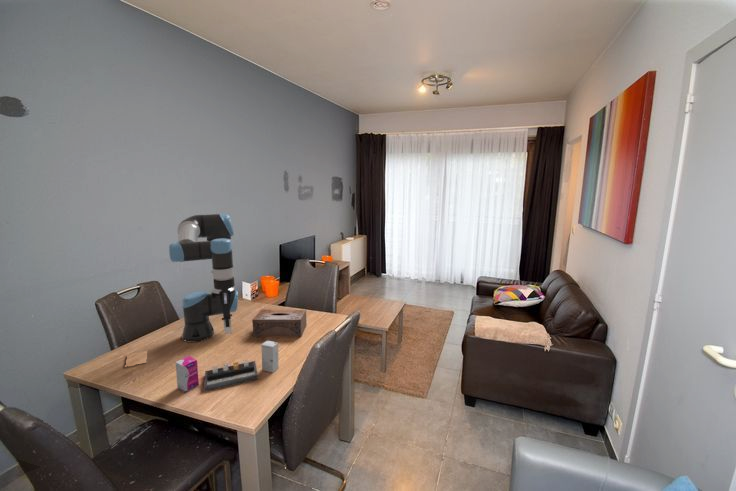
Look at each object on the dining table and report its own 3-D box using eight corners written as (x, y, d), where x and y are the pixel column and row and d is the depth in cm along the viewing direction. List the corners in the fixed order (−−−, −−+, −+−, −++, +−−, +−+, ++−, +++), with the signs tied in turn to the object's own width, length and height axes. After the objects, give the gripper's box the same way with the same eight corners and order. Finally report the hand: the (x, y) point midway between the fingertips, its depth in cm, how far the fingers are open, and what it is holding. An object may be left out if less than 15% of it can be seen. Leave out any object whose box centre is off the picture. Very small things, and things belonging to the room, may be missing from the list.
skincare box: (261, 370, 142) (260, 344, 140) (268, 365, 146) (266, 340, 144) (273, 373, 140) (272, 347, 138) (279, 367, 144) (278, 342, 142)
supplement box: (185, 393, 126) (182, 366, 124) (177, 388, 129) (174, 361, 127) (199, 385, 131) (197, 359, 129) (191, 380, 134) (188, 355, 132)
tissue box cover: (253, 337, 174) (252, 319, 172) (262, 325, 188) (261, 309, 186) (301, 337, 174) (300, 319, 172) (306, 325, 188) (306, 309, 186)
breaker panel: (204, 391, 127) (203, 378, 126) (205, 375, 138) (204, 363, 137) (258, 379, 135) (257, 367, 134) (255, 365, 146) (254, 353, 145)
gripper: (213, 274, 133) (218, 328, 138) (213, 283, 122) (218, 341, 126) (233, 272, 136) (237, 325, 141) (234, 281, 125) (238, 338, 129)
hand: (228, 332), depth 133 cm, fingers closed
